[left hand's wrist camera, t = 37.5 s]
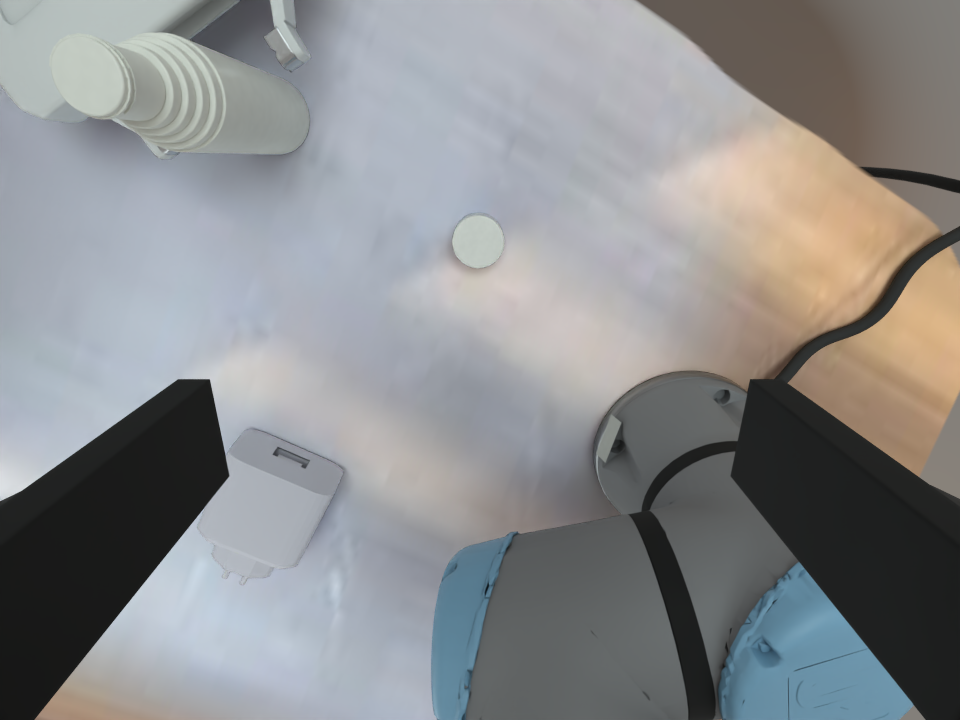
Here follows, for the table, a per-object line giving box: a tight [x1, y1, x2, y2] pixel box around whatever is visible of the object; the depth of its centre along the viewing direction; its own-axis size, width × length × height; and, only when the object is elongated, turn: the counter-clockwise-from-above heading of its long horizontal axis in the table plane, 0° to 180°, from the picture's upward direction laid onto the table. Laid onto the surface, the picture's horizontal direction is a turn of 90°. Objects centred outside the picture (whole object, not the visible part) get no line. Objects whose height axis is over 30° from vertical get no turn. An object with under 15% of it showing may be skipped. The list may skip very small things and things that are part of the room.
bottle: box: [49, 32, 310, 155], centre depth 28 cm, size 5×5×19 cm
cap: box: [452, 213, 504, 268], centre depth 38 cm, size 4×4×2 cm
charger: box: [197, 429, 343, 585], centre depth 46 cm, size 5×9×15 cm
